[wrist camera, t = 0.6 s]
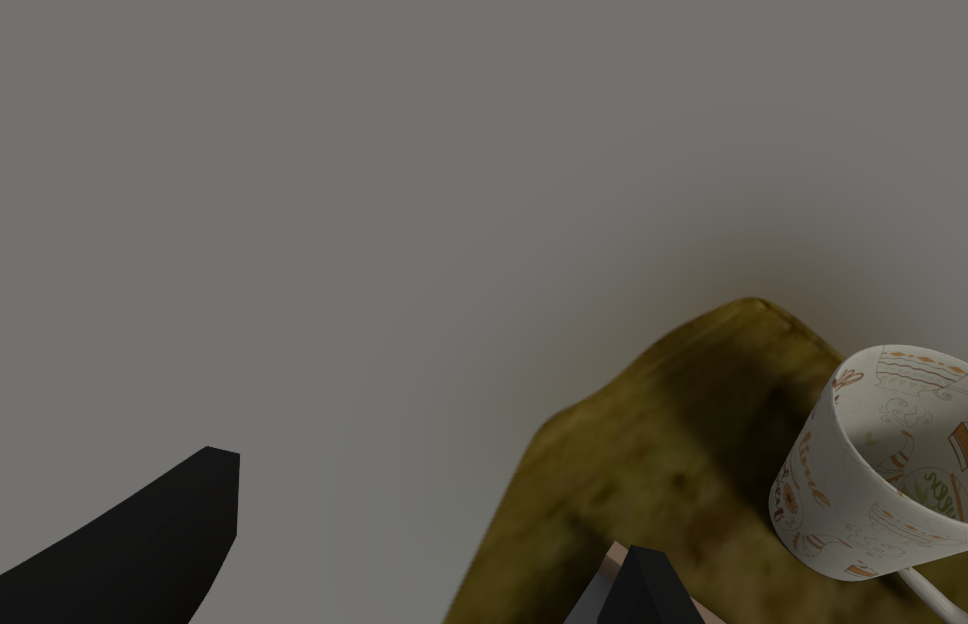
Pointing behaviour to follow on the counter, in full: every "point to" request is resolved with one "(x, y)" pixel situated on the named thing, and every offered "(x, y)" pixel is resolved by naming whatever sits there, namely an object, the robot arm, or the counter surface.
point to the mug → (881, 471)
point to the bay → (593, 598)
